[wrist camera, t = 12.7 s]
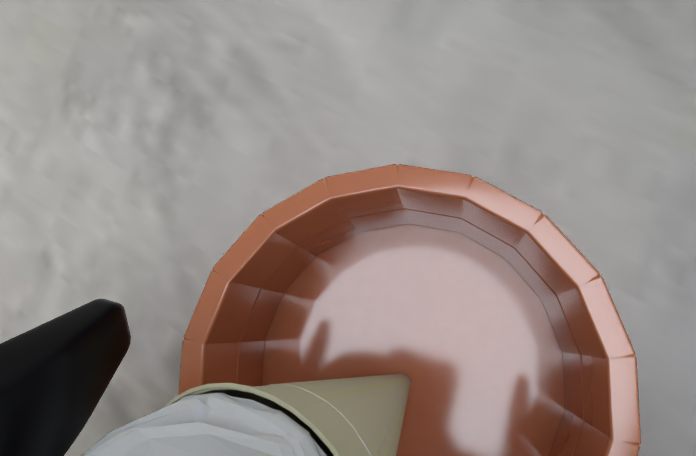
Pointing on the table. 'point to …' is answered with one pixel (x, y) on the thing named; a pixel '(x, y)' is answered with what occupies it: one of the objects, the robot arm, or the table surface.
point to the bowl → (426, 314)
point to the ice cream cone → (271, 421)
